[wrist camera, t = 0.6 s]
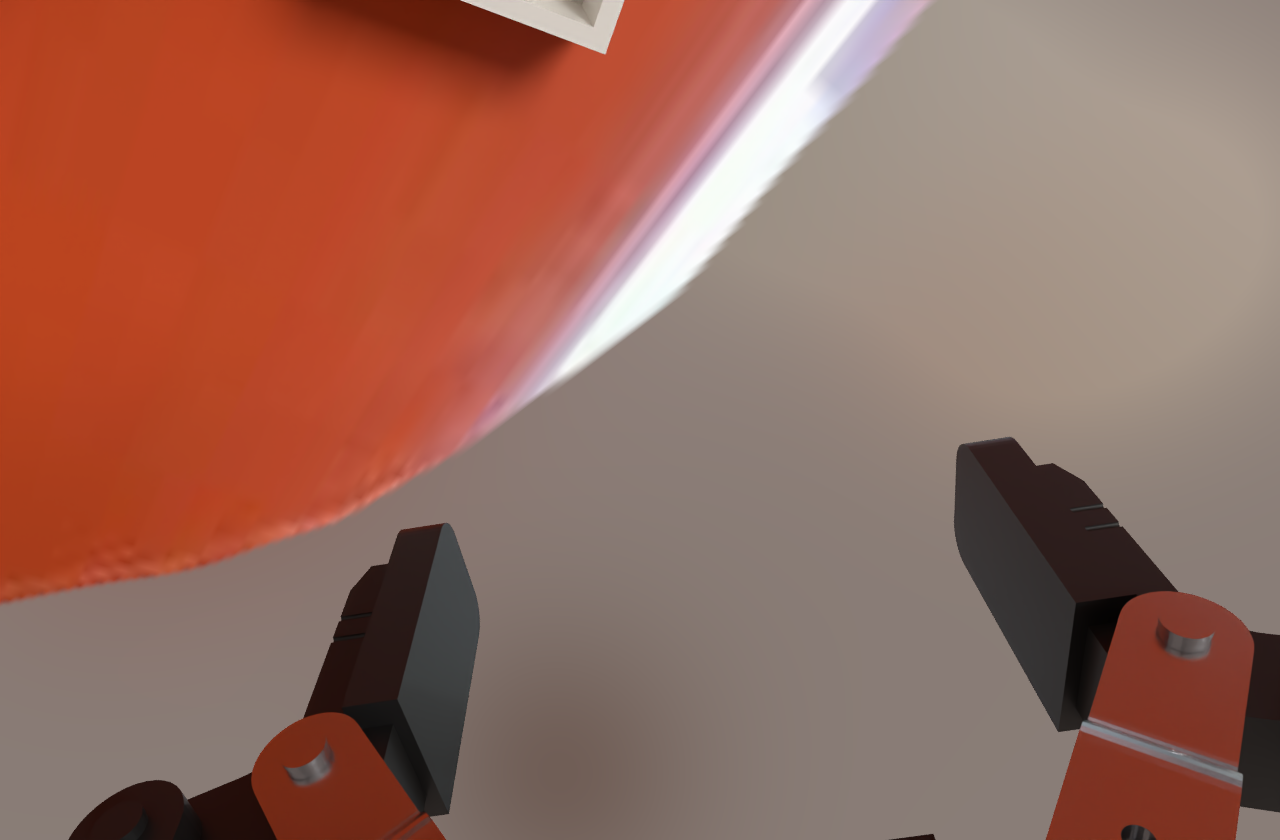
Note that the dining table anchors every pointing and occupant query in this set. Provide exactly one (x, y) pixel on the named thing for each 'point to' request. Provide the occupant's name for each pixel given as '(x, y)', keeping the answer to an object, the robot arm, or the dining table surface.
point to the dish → (563, 18)
